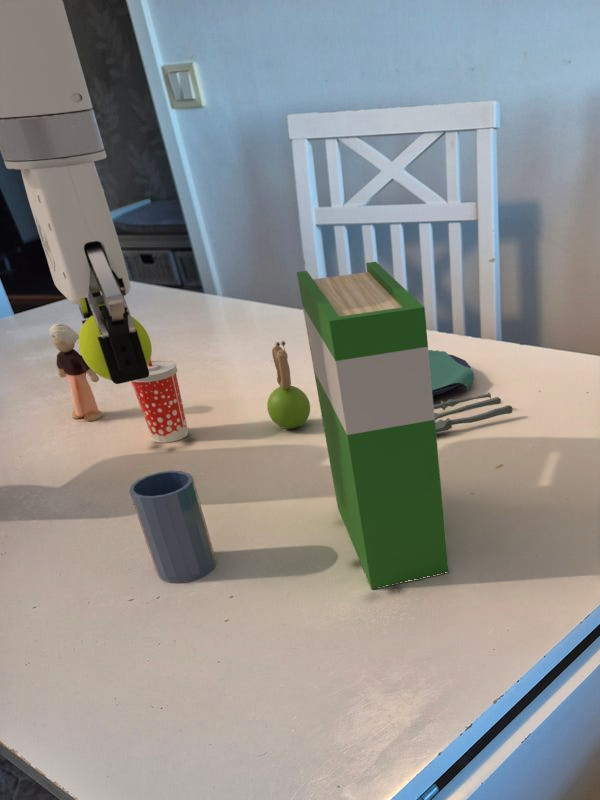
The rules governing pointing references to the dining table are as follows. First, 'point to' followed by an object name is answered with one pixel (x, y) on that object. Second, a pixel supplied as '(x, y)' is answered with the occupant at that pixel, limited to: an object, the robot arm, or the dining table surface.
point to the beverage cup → (162, 402)
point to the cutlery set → (450, 375)
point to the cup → (173, 526)
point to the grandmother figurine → (75, 372)
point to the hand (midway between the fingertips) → (122, 368)
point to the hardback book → (378, 420)
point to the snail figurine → (286, 395)
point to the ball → (93, 350)
